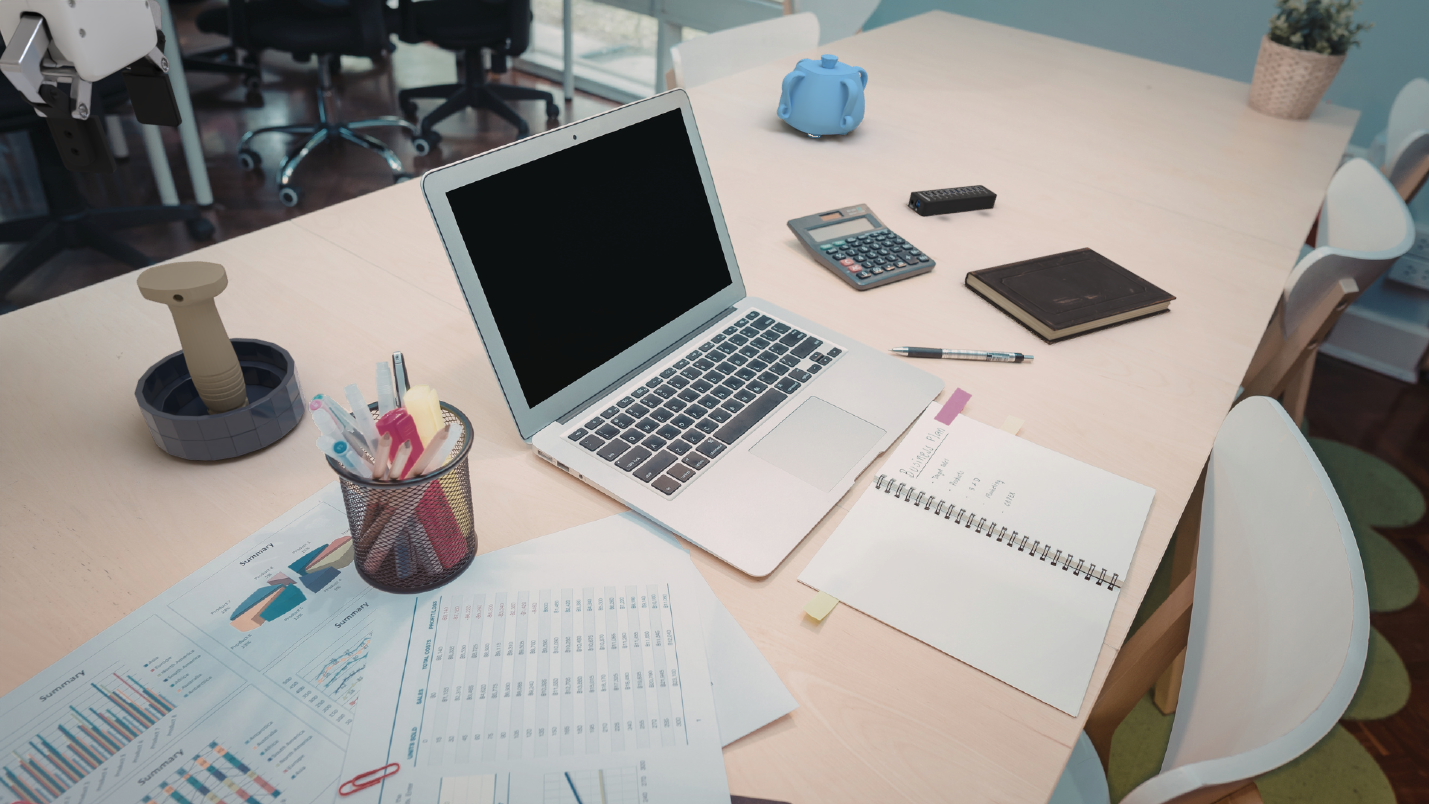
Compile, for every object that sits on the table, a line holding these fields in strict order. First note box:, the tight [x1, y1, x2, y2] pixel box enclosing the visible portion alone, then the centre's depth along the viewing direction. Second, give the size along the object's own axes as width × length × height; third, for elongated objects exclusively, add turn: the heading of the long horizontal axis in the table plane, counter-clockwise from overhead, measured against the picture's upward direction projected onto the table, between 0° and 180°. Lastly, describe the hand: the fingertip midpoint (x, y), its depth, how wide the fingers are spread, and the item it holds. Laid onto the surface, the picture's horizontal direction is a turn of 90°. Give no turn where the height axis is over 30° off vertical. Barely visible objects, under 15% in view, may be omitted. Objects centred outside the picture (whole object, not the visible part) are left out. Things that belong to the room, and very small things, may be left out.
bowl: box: [134, 337, 306, 461], centre depth 76 cm, size 13×13×5 cm
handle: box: [136, 260, 249, 415], centre depth 73 cm, size 5×6×15 cm
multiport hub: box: [907, 184, 998, 217], centre depth 132 cm, size 4×14×2 cm, turn 113°
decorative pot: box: [776, 53, 869, 139], centre depth 155 cm, size 16×16×14 cm
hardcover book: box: [964, 246, 1178, 345], centre depth 110 cm, size 16×23×2 cm
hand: (128, 146), depth 61 cm, fingers open, 9 cm apart
